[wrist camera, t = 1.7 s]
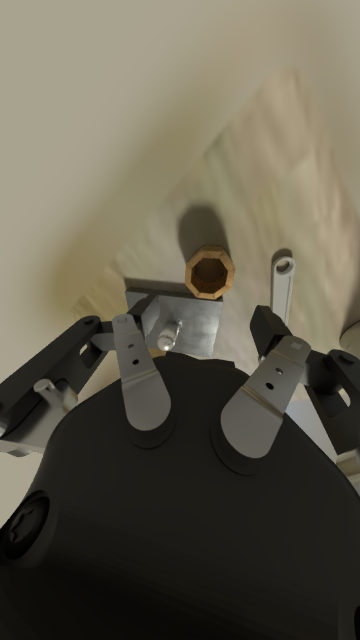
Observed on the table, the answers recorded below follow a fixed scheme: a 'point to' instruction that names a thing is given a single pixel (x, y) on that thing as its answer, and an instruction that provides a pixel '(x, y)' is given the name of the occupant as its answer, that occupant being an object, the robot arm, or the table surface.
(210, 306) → the block
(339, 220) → the table surface
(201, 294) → the wooden octagonal ring
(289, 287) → the adjustable wrench
